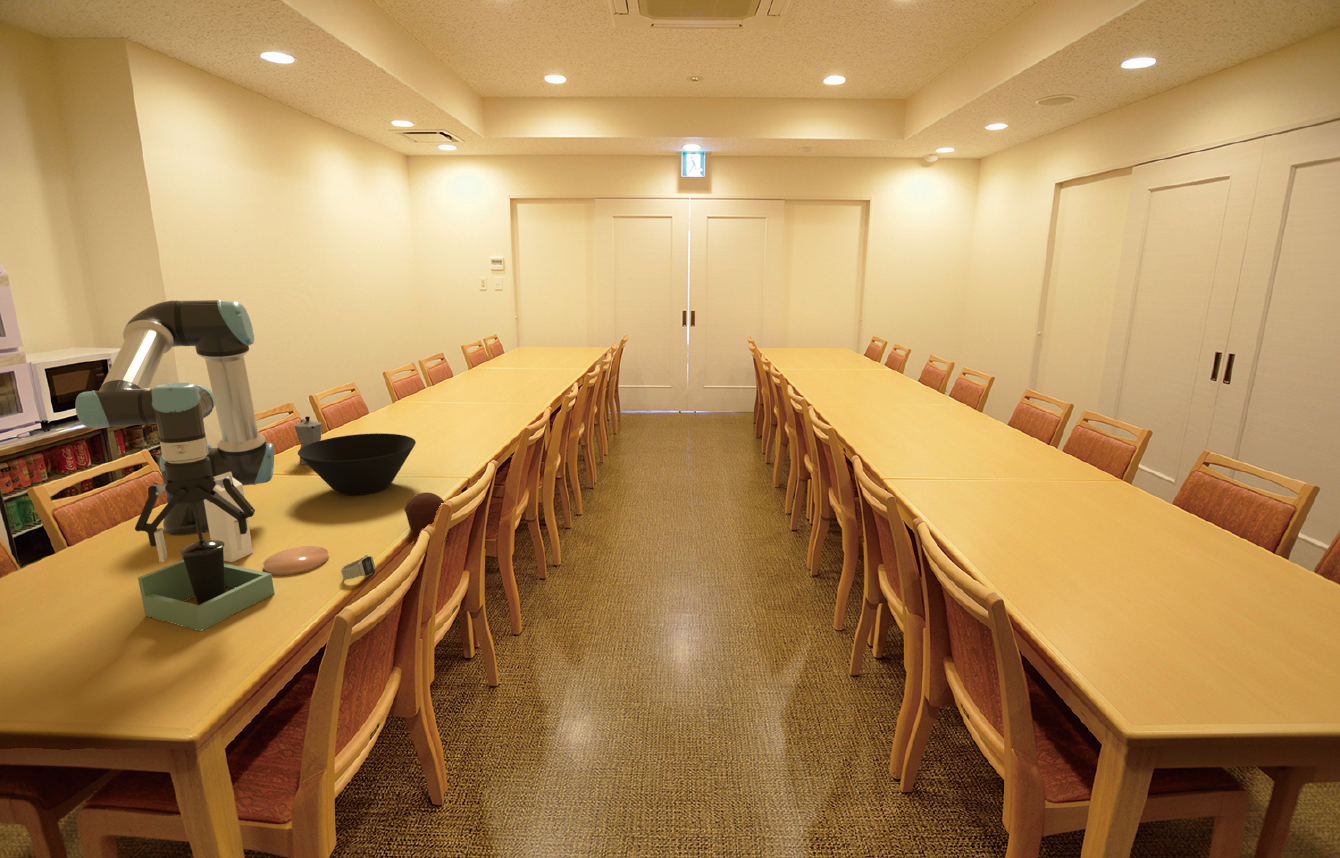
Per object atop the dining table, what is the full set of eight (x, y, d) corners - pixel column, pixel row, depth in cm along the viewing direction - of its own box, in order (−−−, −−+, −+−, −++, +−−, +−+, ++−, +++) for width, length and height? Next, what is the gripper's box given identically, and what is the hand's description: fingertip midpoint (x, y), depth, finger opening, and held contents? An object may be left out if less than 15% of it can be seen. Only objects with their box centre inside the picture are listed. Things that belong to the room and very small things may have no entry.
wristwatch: (359, 584, 145) (356, 565, 144) (334, 582, 146) (332, 563, 145) (381, 567, 154) (379, 549, 153) (358, 565, 155) (356, 547, 154)
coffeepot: (331, 462, 238) (326, 417, 234) (304, 467, 232) (298, 421, 227) (319, 454, 249) (314, 411, 244) (293, 458, 242) (287, 414, 238)
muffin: (406, 522, 182) (403, 490, 179) (445, 517, 186) (443, 486, 184) (406, 537, 171) (403, 504, 169) (448, 532, 176) (446, 499, 173)
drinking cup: (211, 615, 131) (195, 528, 126) (181, 611, 132) (165, 524, 127) (242, 598, 138) (228, 514, 133) (213, 594, 139) (199, 511, 135)
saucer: (250, 569, 151) (249, 565, 151) (300, 547, 164) (299, 542, 164) (293, 579, 147) (292, 574, 147) (341, 555, 160) (340, 550, 160)
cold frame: (145, 616, 130) (137, 577, 128) (222, 581, 145) (216, 546, 143) (200, 631, 125) (193, 591, 123) (274, 593, 140) (269, 557, 138)
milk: (213, 559, 156) (198, 477, 151) (235, 550, 162) (221, 470, 157) (232, 562, 155) (218, 479, 150) (254, 552, 161) (240, 472, 155)
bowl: (364, 513, 188) (358, 466, 185) (277, 498, 199) (271, 454, 196) (441, 479, 221) (437, 438, 218) (362, 468, 232) (358, 429, 229)
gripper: (102, 470, 118) (123, 571, 123) (255, 456, 129) (269, 550, 134) (115, 460, 125) (134, 557, 130) (260, 448, 136) (273, 537, 141)
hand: (203, 553), depth 132 cm, fingers open, 13 cm apart
